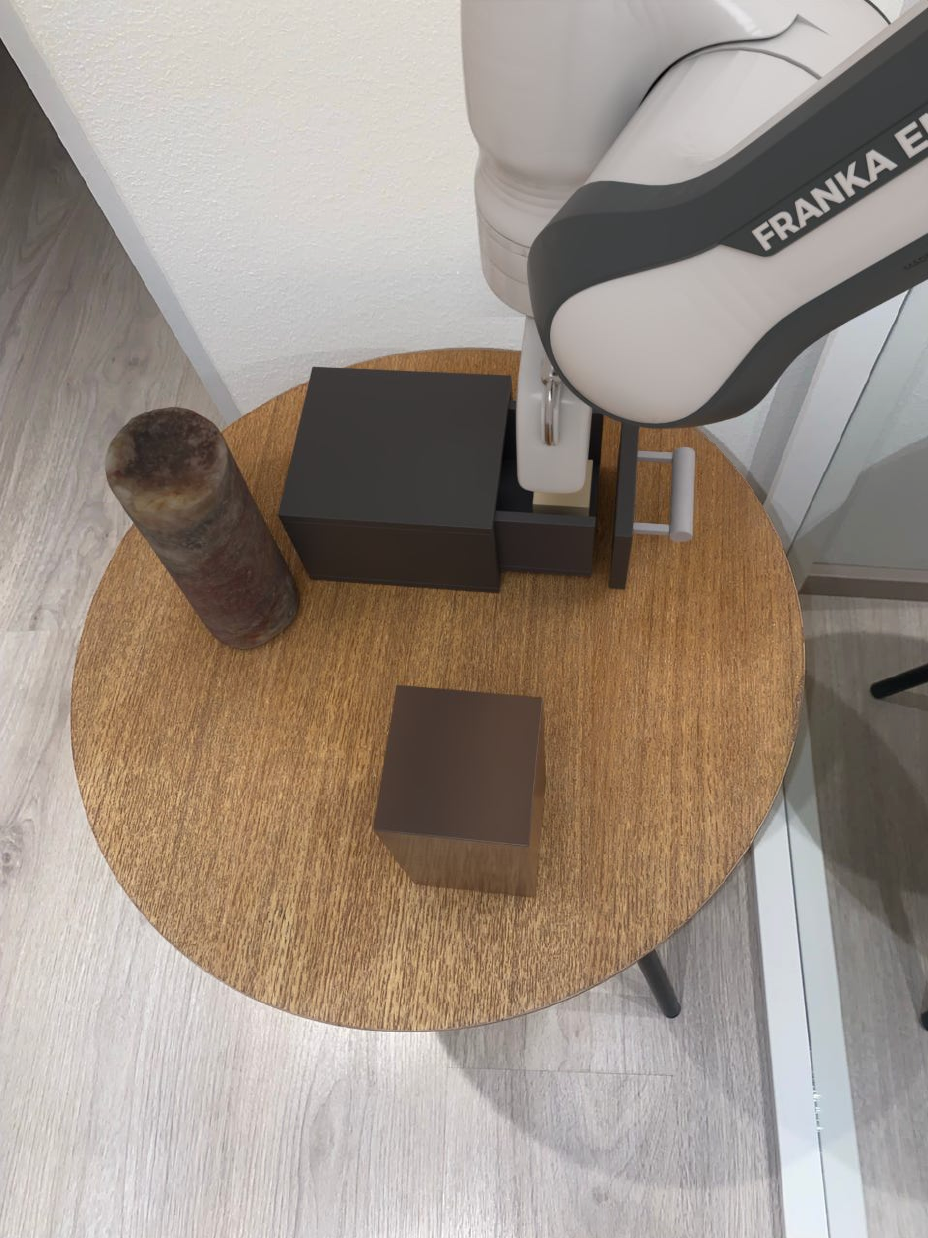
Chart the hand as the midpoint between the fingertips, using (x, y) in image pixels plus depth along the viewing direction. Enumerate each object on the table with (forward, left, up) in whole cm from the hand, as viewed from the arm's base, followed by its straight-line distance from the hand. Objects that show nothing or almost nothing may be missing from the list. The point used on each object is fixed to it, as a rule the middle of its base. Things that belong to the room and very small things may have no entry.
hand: (565, 403), depth 61 cm
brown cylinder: (+23, +9, -15) cm, 29 cm away
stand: (+4, +24, -15) cm, 29 cm away
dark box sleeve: (+12, 0, -15) cm, 19 cm away
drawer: (0, 0, -14) cm, 14 cm away
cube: (0, 0, -13) cm, 13 cm away
